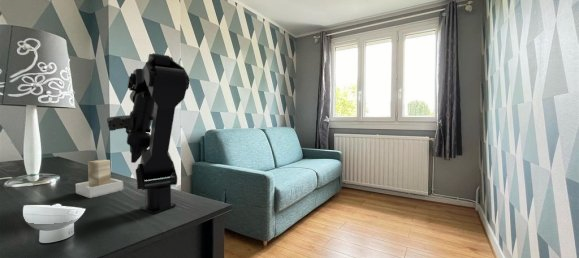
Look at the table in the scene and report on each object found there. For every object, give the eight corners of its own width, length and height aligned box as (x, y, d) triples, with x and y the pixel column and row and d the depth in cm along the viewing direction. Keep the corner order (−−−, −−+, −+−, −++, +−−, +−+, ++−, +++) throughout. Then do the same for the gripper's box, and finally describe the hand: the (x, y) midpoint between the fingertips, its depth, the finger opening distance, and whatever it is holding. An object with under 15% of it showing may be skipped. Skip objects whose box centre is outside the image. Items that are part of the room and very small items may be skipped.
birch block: (110, 188, 79) (110, 160, 79) (99, 192, 76) (98, 162, 75) (100, 187, 80) (100, 159, 80) (88, 191, 76) (87, 161, 76)
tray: (123, 190, 80) (123, 181, 80) (90, 198, 72) (89, 188, 72) (108, 186, 84) (108, 177, 84) (75, 193, 76) (75, 183, 76)
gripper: (112, 100, 78) (102, 145, 79) (111, 111, 63) (99, 166, 65) (151, 107, 85) (141, 149, 86) (158, 119, 70) (146, 169, 71)
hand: (132, 157), depth 77 cm, fingers open, 9 cm apart
